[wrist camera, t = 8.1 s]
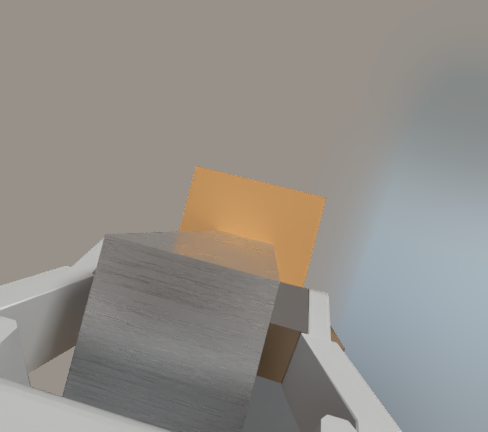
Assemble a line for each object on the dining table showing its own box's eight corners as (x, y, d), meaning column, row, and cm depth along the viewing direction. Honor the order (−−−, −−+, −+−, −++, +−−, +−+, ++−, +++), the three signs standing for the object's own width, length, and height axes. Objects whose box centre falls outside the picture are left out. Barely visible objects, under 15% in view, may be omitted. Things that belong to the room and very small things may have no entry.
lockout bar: (358, 506, 5) (453, 128, 5) (-49, 374, 6) (42, 38, 6) (290, 289, 23) (311, 205, 23) (193, 263, 24) (214, 181, 24)
